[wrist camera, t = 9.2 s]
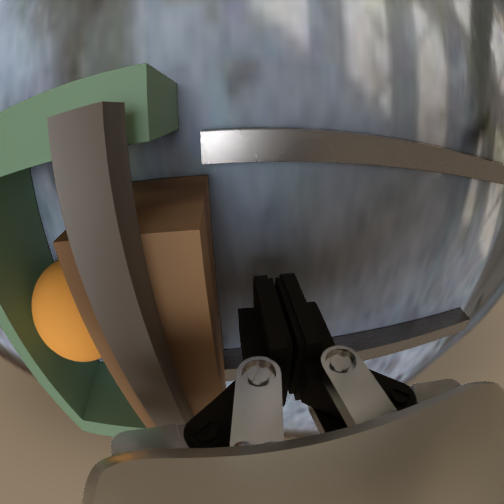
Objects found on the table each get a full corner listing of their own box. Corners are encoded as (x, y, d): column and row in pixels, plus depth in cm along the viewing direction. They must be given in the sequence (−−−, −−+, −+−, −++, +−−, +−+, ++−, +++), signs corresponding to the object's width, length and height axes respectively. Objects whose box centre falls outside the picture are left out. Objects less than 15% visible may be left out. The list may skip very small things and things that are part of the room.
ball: (113, 229, 13) (112, 281, 9) (134, 307, 15) (147, 371, 11) (30, 250, 11) (2, 308, 7) (61, 324, 13) (55, 389, 9)
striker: (205, 103, 10) (183, 87, 4) (226, 374, 17) (234, 466, 11) (110, 116, 9) (0, 137, 3) (168, 376, 17) (162, 466, 11)
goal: (176, 83, 9) (146, 63, 5) (211, 380, 18) (214, 442, 14) (11, 127, 8) (-57, 148, 4) (98, 377, 17) (84, 431, 13)
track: (503, 164, 12) (519, 171, 11) (455, 318, 19) (464, 329, 18) (203, 129, 10) (200, 131, 9) (223, 361, 17) (224, 380, 16)
